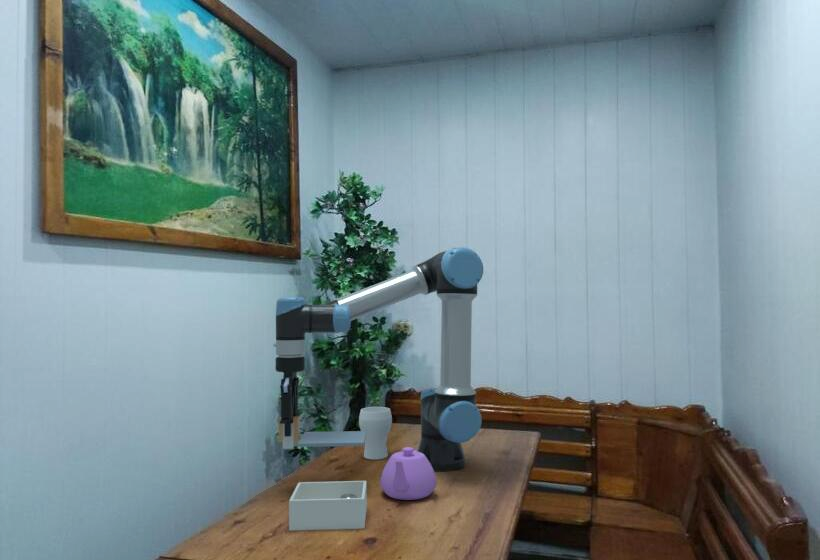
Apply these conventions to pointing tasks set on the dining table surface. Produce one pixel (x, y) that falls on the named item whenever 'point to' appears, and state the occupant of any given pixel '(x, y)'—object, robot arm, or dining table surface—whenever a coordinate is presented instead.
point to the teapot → (408, 475)
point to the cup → (375, 431)
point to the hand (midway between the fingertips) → (289, 446)
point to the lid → (324, 437)
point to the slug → (348, 496)
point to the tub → (328, 506)
